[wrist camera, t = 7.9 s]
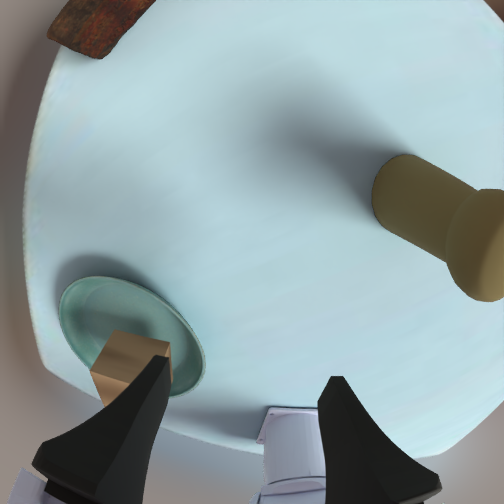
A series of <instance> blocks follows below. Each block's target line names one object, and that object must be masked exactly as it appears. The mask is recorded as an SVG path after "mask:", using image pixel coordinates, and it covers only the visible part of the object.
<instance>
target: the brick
mask: <svg viewBox="0 0 504 504" xmlns="http://www.w3.org/2000/svg"><path fill="white" fill-rule="evenodd" d="M155 1H156V0H69V1H68V2H67V4H66V5H65V6H64V7H63V9H62V10H61V12H60V13H59V15H58V16H57V17H56V18H55V20H54V21H53V23H52V24H51V26H50V28H49V29H48V32H47V37H48V38H49V39H51V40H54V41H56V42H58V43H60V44H62V45H64V46H65V47H67V48H69V49H71V50H73V51H75V52H79V53H81V54H84V55H87V56H89V57H91V58H97V59H103V58H104V57H105V56H107V55H108V54H109V53H110V52H111V51H112V49H113V47H115V46H116V44H117V43H118V41H119V40H120V38H121V37H122V36H123V35H124V34H125V33H126V32H127V30H129V29H130V28H131V27H132V26H133V25H134V24H135V23H136V21H137V20H138V19H139V18H140V17H141V16H142V15H143V14H144V12H145V11H146V10H147V9H148V8H149V7H150V6H151V5H152V4H153V3H154V2H155Z"/></svg>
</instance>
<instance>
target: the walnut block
mask: <svg viewBox="0 0 504 504" xmlns="http://www.w3.org/2000/svg"><path fill="white" fill-rule="evenodd" d="M154 355H160V356H165V357H169V363H170V374H171V384H172V382H173V374H172V362H171V347H170V342H167V341H163V340H158V339H153V338H149V337H144V336H140V335H136V334H132V333H128V332H124V331H120V330H116V329H114V331H113V333H112V334H111V336H110V337H109V339H108V341H107V342H106V344H105V345H104V347H103V349H102V350H101V352H100V354H99V355H98V357H97V359H96V360H95V362H94V364H93V366H92V367H91V369H90V373H91V376H92V379H93V381H94V384H95V386H96V388H97V391H98V393H99V395H100V398H101V400H102V402H103V404H104V406H105V407H106V406H107V405H108V404H109V403H111V402H112V401H113V400H114V399H115V398H116V397H117V396H118V395H119V394H120V393H121V392H122V391H124V390H125V389H126V388H127V387H128V385H129V384H130V383H131V382H132V381H133V380H134V379H135V378H136V377H137V376H138V375H139V373H140V372H141V371H142V370H143V369H144V368H145V366H146V365H147V364H148V363H149V361H150V360H151V359H152V358H153V356H154Z"/></svg>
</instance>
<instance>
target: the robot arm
mask: <svg viewBox="0 0 504 504" xmlns="http://www.w3.org/2000/svg"><path fill="white" fill-rule="evenodd" d="M171 386H172V384H171V374H170V363H169V357H165V356H160V355H154V356H153V358H152V359H151V360H150V361H149V363H148V364H147V365H146V366H145V368H144V369H143V370H142V371H141V372H140V373H139V375H138V376H137V377H136V378H135V379H134V380H133V381H132V382H131V383H130V384H129V385H128V387H127V388H126V389H125V390H124V391H122V392H121V393H120V394H119V395H118V396H117V397H116V398H115V399H114V400H113V401H112V402H111V403H109V404H108V405H107V406H106V407H105V408H103V409H102V410H101V411H100V412H98V413H97V414H95V415H94V416H93V417H91V418H90V419H88V420H87V421H85V422H84V423H82V424H80V425H79V426H77V427H75V428H73V429H72V430H70V431H68V432H66V433H64V434H62V435H60V436H57V437H55V438H52V439H50V440H48V441H45V442H43V443H42V444H41V446H40V447H39V449H38V451H37V453H36V455H35V457H34V459H33V462H32V466H33V467H34V468H35V469H36V470H37V471H39V472H40V473H41V474H43V475H44V476H45V477H46V478H48V481H47V483H46V482H44V481H43V480H41V479H40V478H38V477H36V476H35V475H33V474H32V473H30V472H28V471H27V470H26V469H24V468H21V469H20V472H19V474H18V476H17V478H16V481H15V483H14V486H13V488H12V491H11V493H10V496H9V498H8V501H7V504H142V501H143V493H144V486H145V480H146V474H147V469H148V464H149V459H150V454H151V450H152V446H153V443H154V440H155V437H156V434H157V431H158V429H159V426H160V423H161V420H162V418H163V415H164V412H165V409H166V406H167V403H168V399H169V395H170V390H171ZM317 402H318V409H295V408H275V407H272V408H269V409H268V412H267V415H266V417H265V420H264V423H263V425H262V428H261V430H260V433H259V436H258V438H257V444H264V482H265V485H262V486H261V492H257V493H255V494H254V496H253V497H252V498H251V499H250V501H249V504H424V502H423V501H425V500H427V499H429V498H430V497H432V496H434V495H436V494H437V493H439V492H440V491H441V490H442V486H441V482H440V479H439V476H438V474H436V473H434V472H432V471H431V470H429V469H427V468H425V467H424V466H422V465H421V464H419V463H418V462H416V461H415V460H413V459H412V458H411V457H409V456H408V455H407V454H406V453H404V452H403V451H402V450H401V449H400V448H399V447H397V446H396V445H395V444H394V443H393V442H392V441H391V440H390V439H389V438H388V437H387V436H386V435H385V434H384V432H383V431H382V430H381V429H380V428H379V427H378V425H377V424H376V423H375V422H374V420H373V419H372V418H371V416H370V415H369V414H368V412H367V411H366V410H365V408H364V407H363V405H362V404H361V402H360V401H359V400H358V398H357V397H356V395H355V394H354V392H353V390H352V389H351V387H350V386H349V384H348V383H347V381H346V380H345V378H344V377H343V376H331V377H330V379H329V381H328V383H327V385H326V387H325V388H324V390H323V392H322V394H321V396H320V398H319V400H318V401H317ZM442 504H445V503H442Z"/></svg>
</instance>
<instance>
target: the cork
mask: <svg viewBox="0 0 504 504" xmlns="http://www.w3.org/2000/svg"><path fill="white" fill-rule="evenodd" d="M372 206H373V210H374V213H375V216H376V218H377V219H378V221H379V222H380V224H381V225H382V226H383V227H384V228H386V229H387V230H388V231H390V232H391V233H393V234H395V235H397V236H399V237H401V238H403V239H405V240H407V241H408V242H410V243H412V244H414V245H416V246H418V247H419V248H421V249H423V250H425V251H427V252H428V253H430V254H432V255H434V256H435V257H437V258H439V259H441V260H442V261H444V262H446V263H447V266H448V269H449V271H450V274H451V276H452V278H453V280H454V282H455V283H456V284H457V286H458V287H459V288H460V289H461V290H462V291H463V292H464V293H466V294H467V295H468V296H469V297H471V298H473V299H475V300H477V301H483V302H494V301H497V300H500V299H501V298H503V297H504V191H503V190H501V189H481V190H479V191H477V190H476V189H474V188H473V187H471V186H469V185H468V184H466V183H465V182H463V181H461V180H460V179H458V178H456V177H455V176H453V175H451V174H449V173H448V172H446V171H444V170H442V169H440V168H439V167H437V166H435V165H433V164H431V163H429V162H427V161H425V160H424V159H421V158H419V157H417V156H415V155H400V156H397V157H395V158H392V159H391V160H389V161H388V162H387V163H386V164H385V165H384V166H382V168H381V169H380V171H379V173H378V174H377V176H376V177H375V181H374V185H373V188H372Z"/></svg>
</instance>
